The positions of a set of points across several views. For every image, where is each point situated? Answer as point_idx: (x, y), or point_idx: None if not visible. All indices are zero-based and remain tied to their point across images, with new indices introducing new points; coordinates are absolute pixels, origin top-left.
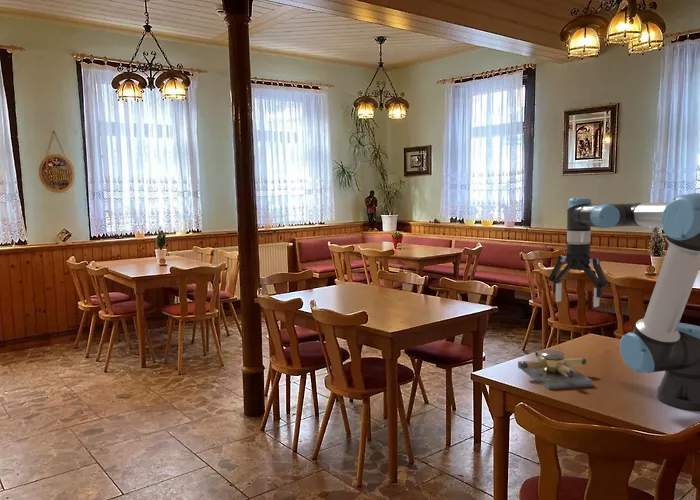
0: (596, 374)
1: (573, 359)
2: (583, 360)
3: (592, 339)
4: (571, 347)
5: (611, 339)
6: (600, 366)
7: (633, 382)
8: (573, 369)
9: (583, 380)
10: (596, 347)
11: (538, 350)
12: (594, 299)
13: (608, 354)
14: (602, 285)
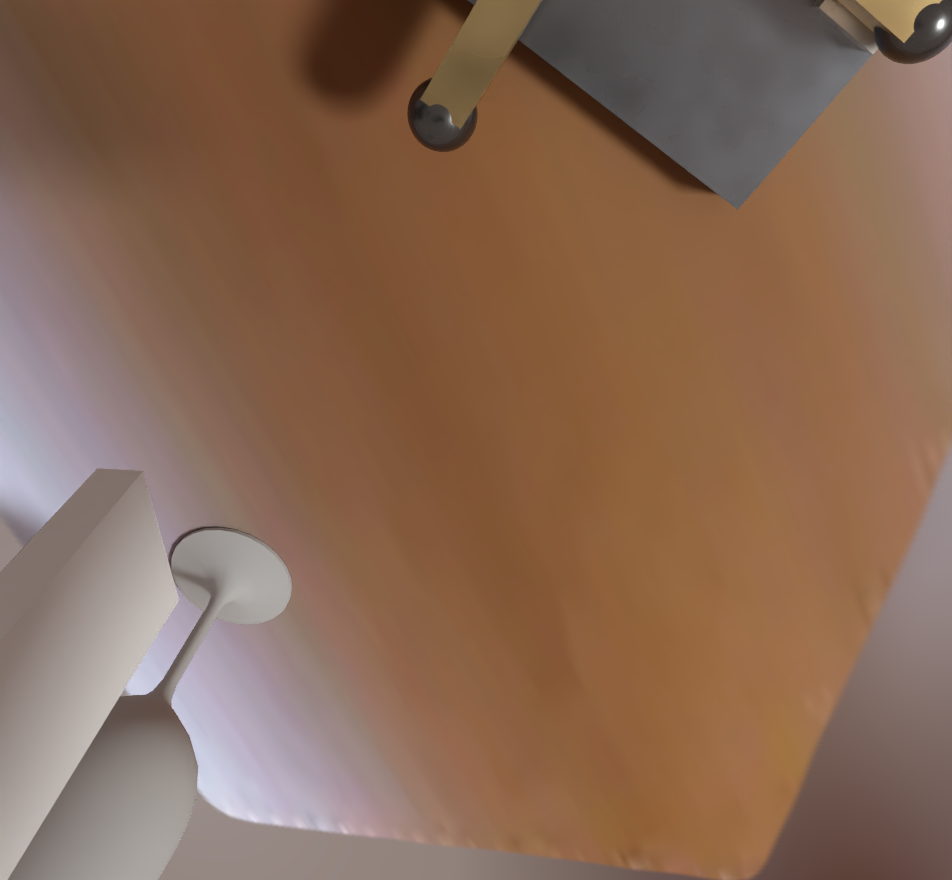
0: (381, 182)
1: (487, 1)
2: (421, 93)
3: (716, 816)
4: (777, 633)
5: (625, 854)
6: (449, 380)
7: (124, 199)
8: None
9: None
10: (638, 706)
11: (939, 29)
12: (27, 584)
13: (523, 629)
14: None
